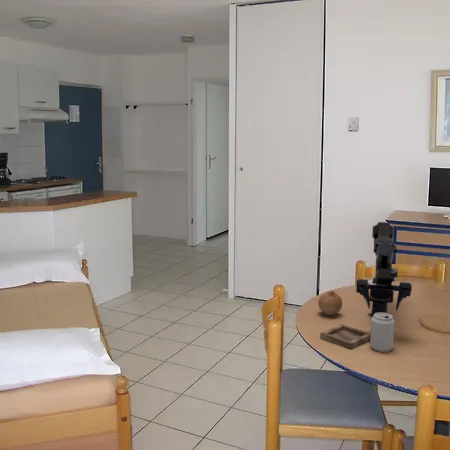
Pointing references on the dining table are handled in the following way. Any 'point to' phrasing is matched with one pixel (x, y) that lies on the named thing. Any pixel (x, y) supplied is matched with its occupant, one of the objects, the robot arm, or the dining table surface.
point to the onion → (330, 303)
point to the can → (382, 332)
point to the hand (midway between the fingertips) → (382, 309)
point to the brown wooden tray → (345, 336)
